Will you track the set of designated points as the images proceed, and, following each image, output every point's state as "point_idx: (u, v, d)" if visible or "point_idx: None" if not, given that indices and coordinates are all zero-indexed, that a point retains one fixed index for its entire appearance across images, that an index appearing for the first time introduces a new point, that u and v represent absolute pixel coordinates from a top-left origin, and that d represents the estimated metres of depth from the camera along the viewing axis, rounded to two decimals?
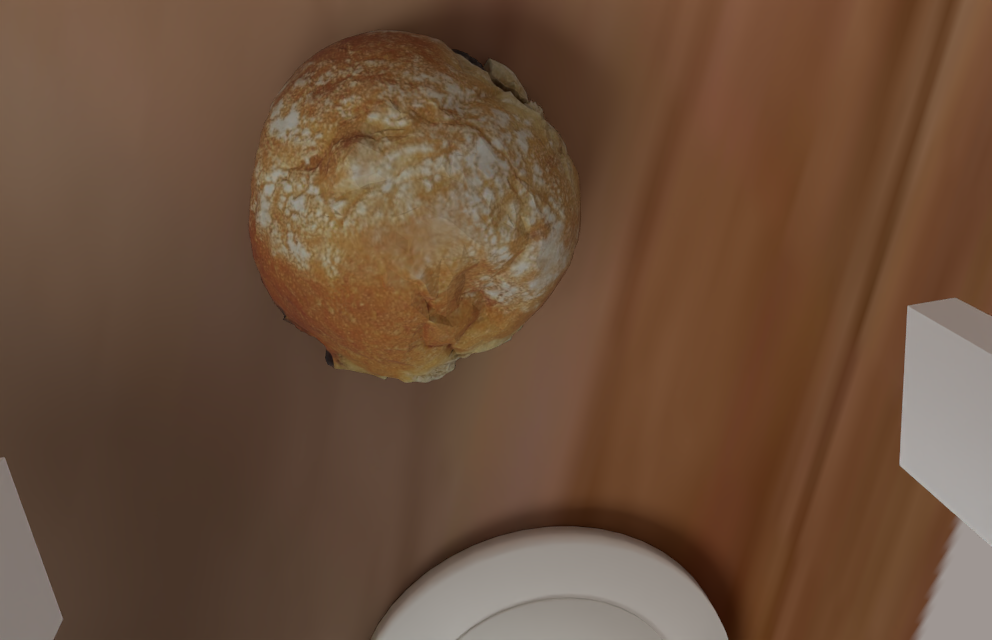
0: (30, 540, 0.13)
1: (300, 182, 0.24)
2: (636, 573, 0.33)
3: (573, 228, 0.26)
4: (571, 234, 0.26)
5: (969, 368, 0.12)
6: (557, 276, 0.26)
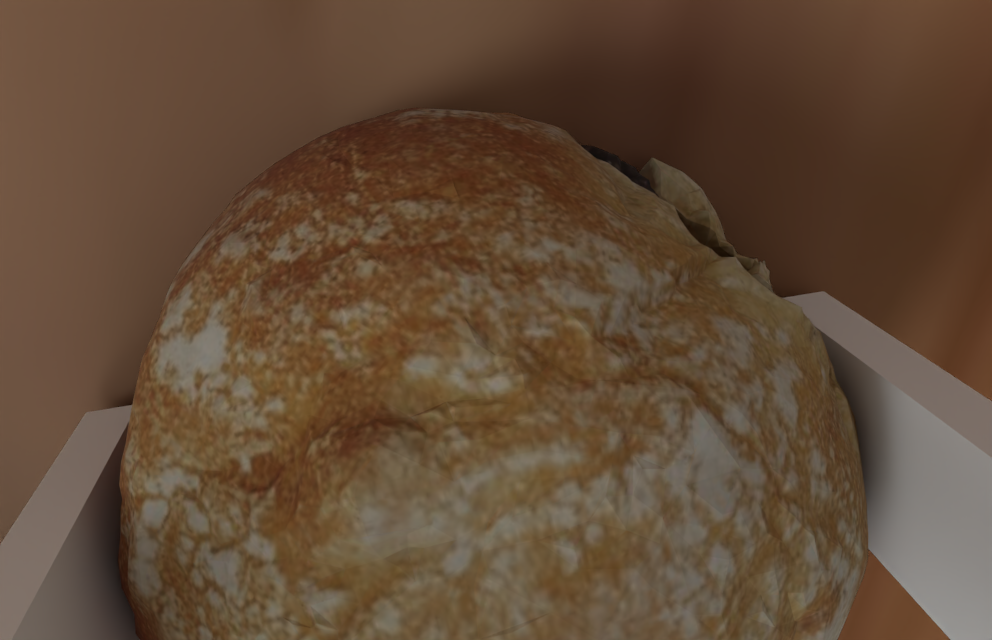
0: None
1: (226, 517, 0.09)
2: None
3: None
4: (862, 577, 0.11)
5: None
6: None
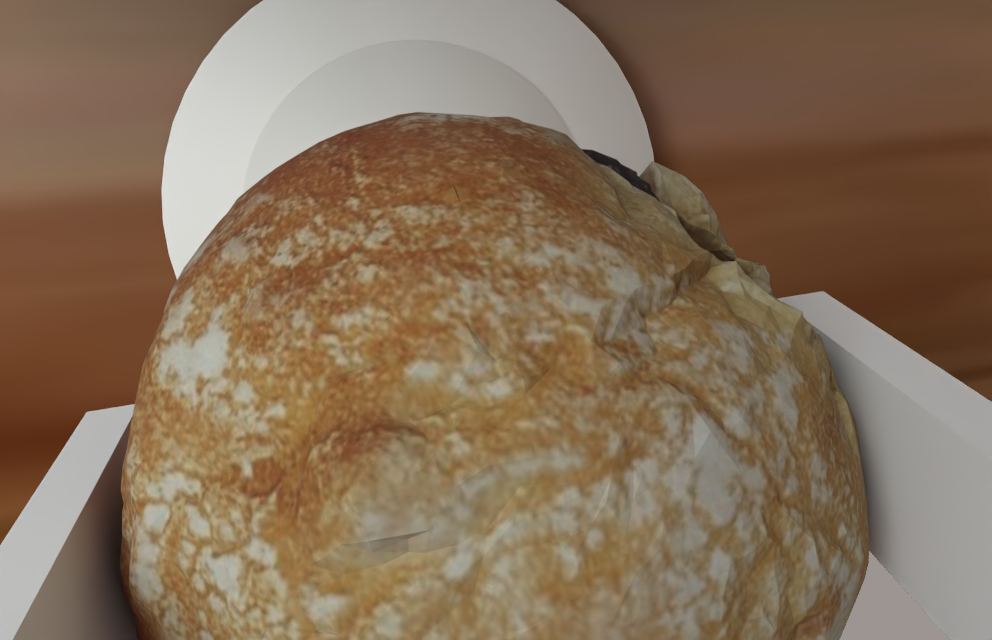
0: None
1: (228, 522, 0.09)
2: None
3: None
4: (862, 580, 0.11)
5: None
6: None
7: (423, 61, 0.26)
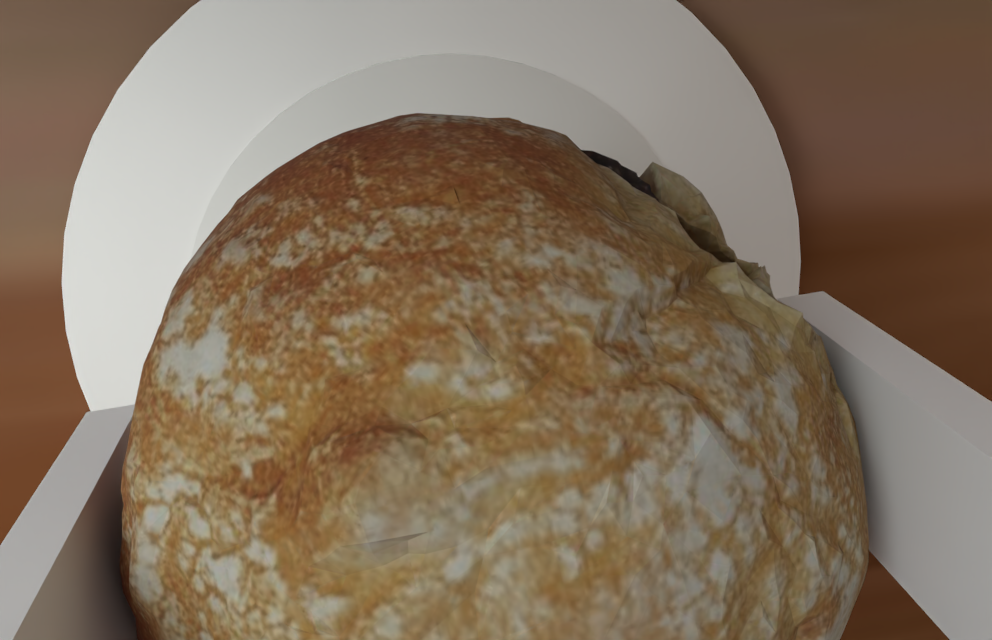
0: None
1: (228, 524, 0.09)
2: None
3: None
4: (862, 581, 0.11)
5: None
6: None
7: (461, 86, 0.17)
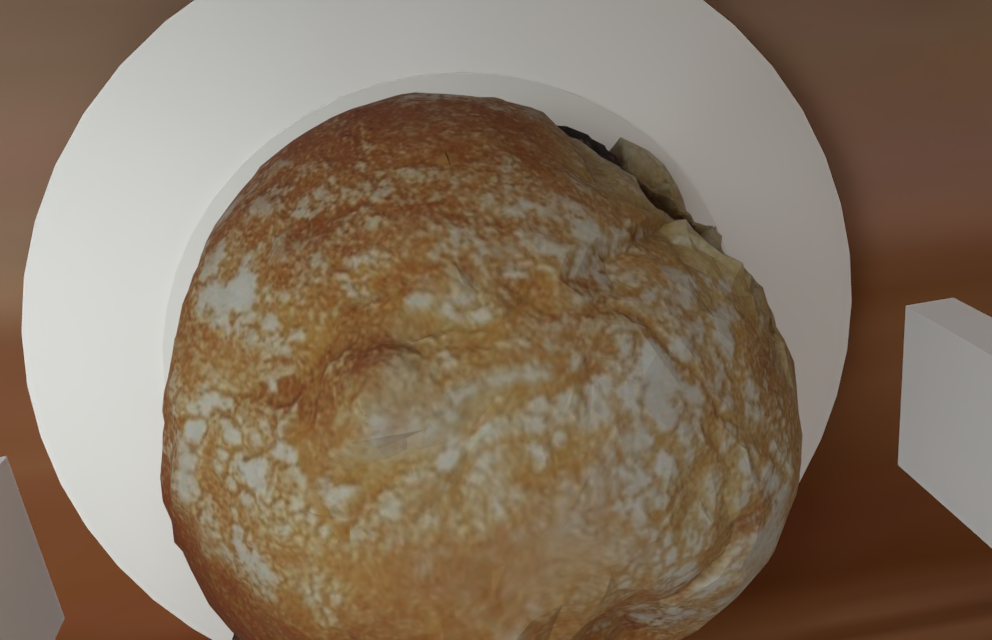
0: (32, 539, 0.13)
1: (257, 430, 0.11)
2: None
3: None
4: (795, 495, 0.13)
5: (968, 368, 0.12)
6: None
7: None
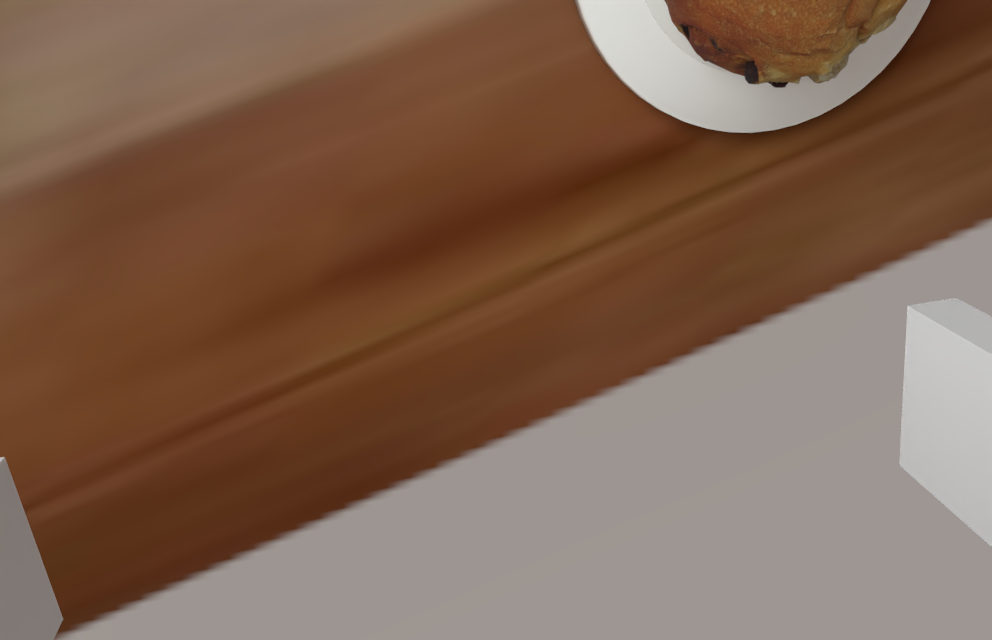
0: (30, 540, 0.13)
1: None
2: None
3: None
4: None
5: (970, 368, 0.12)
6: None
7: None
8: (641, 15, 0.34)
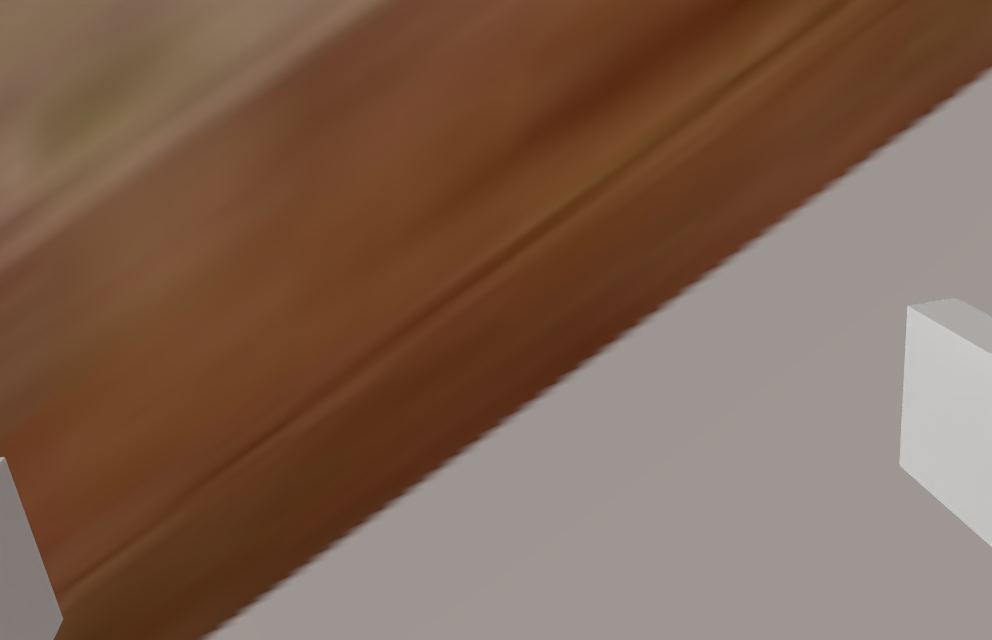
0: (31, 540, 0.13)
1: None
2: None
3: None
4: None
5: (969, 368, 0.12)
6: None
7: None
8: None
